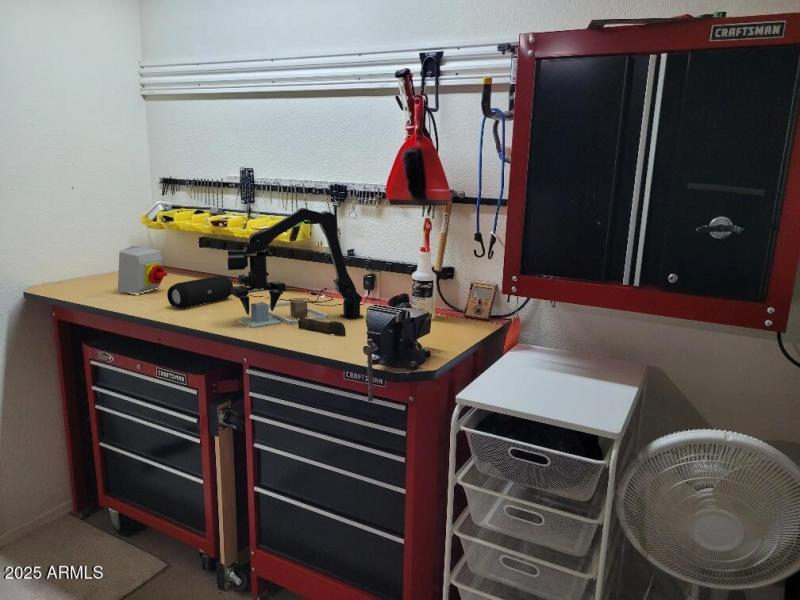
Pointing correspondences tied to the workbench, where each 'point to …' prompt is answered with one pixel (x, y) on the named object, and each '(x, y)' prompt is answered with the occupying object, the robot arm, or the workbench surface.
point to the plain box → (298, 308)
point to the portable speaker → (199, 291)
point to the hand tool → (322, 326)
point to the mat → (254, 324)
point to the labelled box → (259, 312)
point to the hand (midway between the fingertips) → (259, 312)
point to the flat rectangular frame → (321, 316)
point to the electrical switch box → (139, 269)
